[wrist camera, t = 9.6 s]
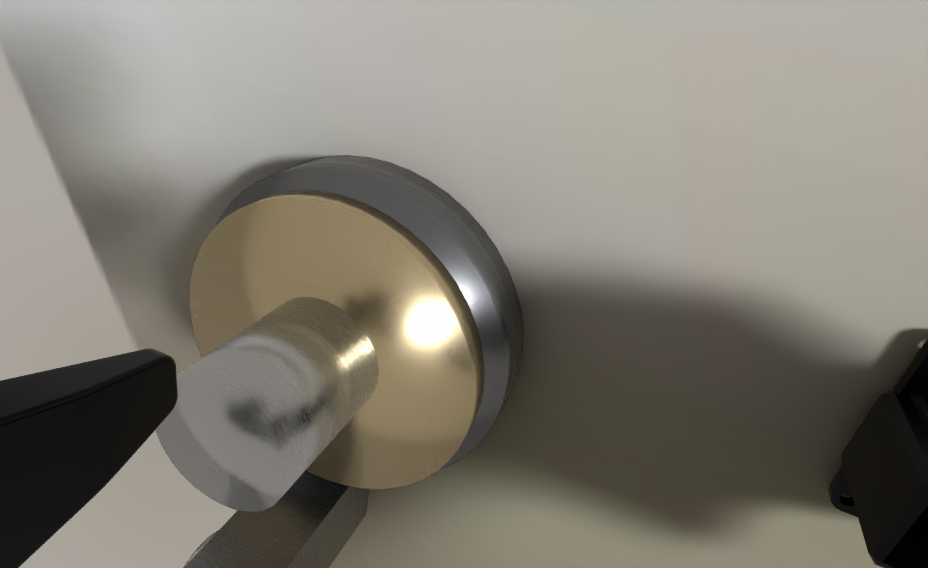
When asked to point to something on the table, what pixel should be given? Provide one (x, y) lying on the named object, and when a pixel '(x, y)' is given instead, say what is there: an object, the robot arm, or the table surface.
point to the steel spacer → (269, 402)
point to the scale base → (493, 307)
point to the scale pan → (371, 305)
